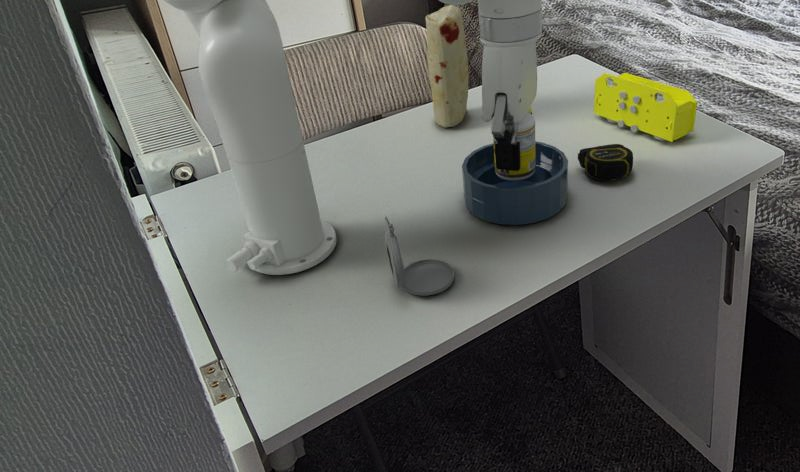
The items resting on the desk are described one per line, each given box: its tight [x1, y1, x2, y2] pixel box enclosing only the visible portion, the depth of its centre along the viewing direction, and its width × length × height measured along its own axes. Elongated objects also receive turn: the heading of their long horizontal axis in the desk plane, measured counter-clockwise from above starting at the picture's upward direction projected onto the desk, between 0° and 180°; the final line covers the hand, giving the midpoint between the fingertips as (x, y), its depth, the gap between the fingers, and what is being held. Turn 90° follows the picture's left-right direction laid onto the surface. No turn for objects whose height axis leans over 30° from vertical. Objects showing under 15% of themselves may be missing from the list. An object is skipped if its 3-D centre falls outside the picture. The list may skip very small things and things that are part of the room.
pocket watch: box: [384, 216, 455, 296], centre depth 77 cm, size 8×8×10 cm
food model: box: [425, 4, 469, 129], centre depth 113 cm, size 10×7×20 cm
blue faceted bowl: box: [461, 140, 569, 226], centre depth 91 cm, size 14×14×6 cm
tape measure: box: [577, 143, 634, 181], centre depth 95 cm, size 7×7×4 cm
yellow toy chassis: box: [593, 72, 698, 143], centre depth 105 cm, size 16×6×8 cm, turn 32°
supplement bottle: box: [492, 109, 536, 181], centre depth 87 cm, size 6×6×10 cm
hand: (514, 156), depth 89 cm, fingers closed on supplement bottle, 5 cm apart
